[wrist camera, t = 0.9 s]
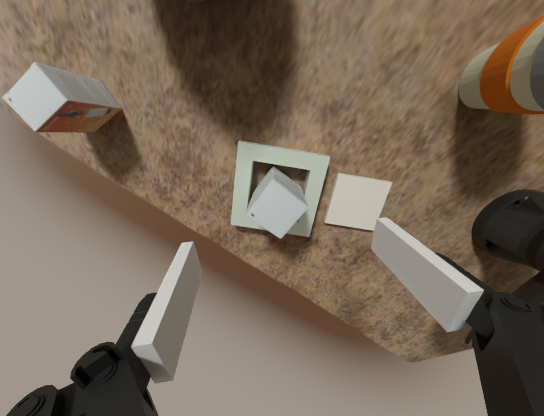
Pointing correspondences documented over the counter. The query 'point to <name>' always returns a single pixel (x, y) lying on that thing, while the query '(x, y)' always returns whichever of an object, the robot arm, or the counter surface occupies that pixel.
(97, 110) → the small box
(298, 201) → the supplement box
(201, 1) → the jug
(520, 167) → the counter surface
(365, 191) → the tile
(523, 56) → the reusable coffee cup
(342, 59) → the counter surface
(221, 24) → the counter surface
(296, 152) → the holder
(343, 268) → the counter surface
